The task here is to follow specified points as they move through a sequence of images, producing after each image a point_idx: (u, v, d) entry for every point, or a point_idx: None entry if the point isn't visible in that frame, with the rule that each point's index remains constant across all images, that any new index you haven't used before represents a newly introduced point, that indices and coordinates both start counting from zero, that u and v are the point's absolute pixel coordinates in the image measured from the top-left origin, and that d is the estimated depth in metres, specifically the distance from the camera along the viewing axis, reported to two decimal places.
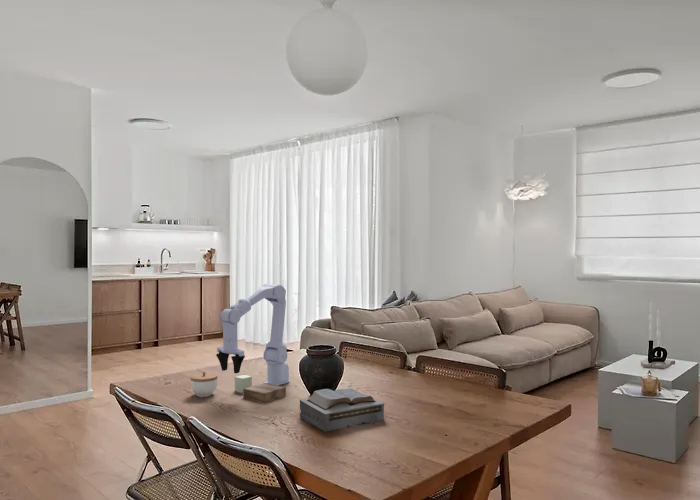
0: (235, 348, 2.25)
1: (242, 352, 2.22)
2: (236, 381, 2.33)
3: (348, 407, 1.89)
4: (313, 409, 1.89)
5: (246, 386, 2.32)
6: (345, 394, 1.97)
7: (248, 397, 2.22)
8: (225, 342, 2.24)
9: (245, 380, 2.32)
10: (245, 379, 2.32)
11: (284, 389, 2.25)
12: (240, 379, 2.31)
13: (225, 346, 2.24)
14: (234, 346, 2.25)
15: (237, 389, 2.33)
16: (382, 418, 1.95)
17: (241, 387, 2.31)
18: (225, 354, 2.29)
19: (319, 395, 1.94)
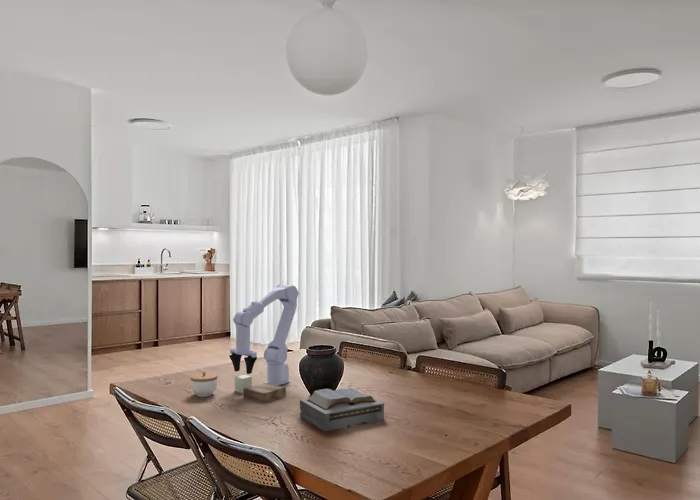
0: (248, 349, 2.32)
1: (254, 353, 2.30)
2: (236, 381, 2.33)
3: (349, 407, 1.89)
4: (313, 409, 1.89)
5: (246, 386, 2.32)
6: (345, 394, 1.97)
7: (248, 397, 2.22)
8: (238, 344, 2.31)
9: (245, 380, 2.32)
10: (245, 379, 2.32)
11: (284, 389, 2.25)
12: (240, 379, 2.31)
13: (238, 348, 2.31)
14: (247, 347, 2.32)
15: (237, 389, 2.33)
16: (382, 418, 1.95)
17: (241, 387, 2.31)
18: (238, 355, 2.37)
19: (319, 395, 1.94)
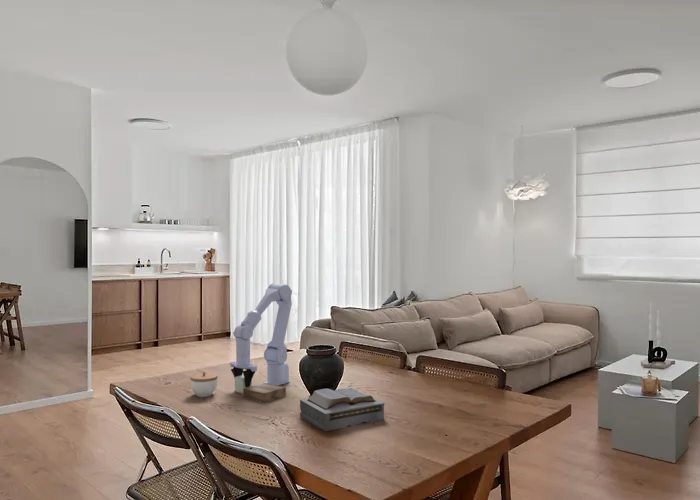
0: (248, 363, 2.33)
1: (255, 367, 2.30)
2: (236, 381, 2.33)
3: (349, 406, 1.89)
4: (314, 409, 1.89)
5: None
6: (345, 394, 1.97)
7: (248, 397, 2.22)
8: (238, 357, 2.32)
9: None
10: None
11: (284, 389, 2.25)
12: (240, 379, 2.31)
13: (238, 362, 2.31)
14: (247, 361, 2.32)
15: (237, 389, 2.33)
16: (382, 418, 1.95)
17: (241, 387, 2.31)
18: (239, 369, 2.36)
19: (319, 395, 1.95)
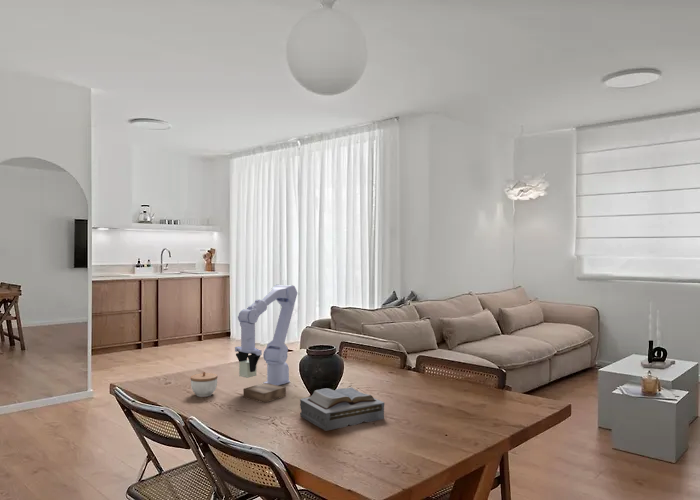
0: (253, 347, 2.30)
1: (260, 351, 2.27)
2: (241, 366, 2.31)
3: (349, 406, 1.90)
4: (314, 408, 1.90)
5: None
6: (345, 393, 1.97)
7: (248, 397, 2.22)
8: (243, 341, 2.29)
9: None
10: None
11: (284, 389, 2.25)
12: (245, 364, 2.29)
13: (243, 346, 2.29)
14: (252, 345, 2.30)
15: (242, 374, 2.30)
16: (382, 417, 1.96)
17: (246, 371, 2.29)
18: (244, 354, 2.34)
19: (319, 394, 1.95)
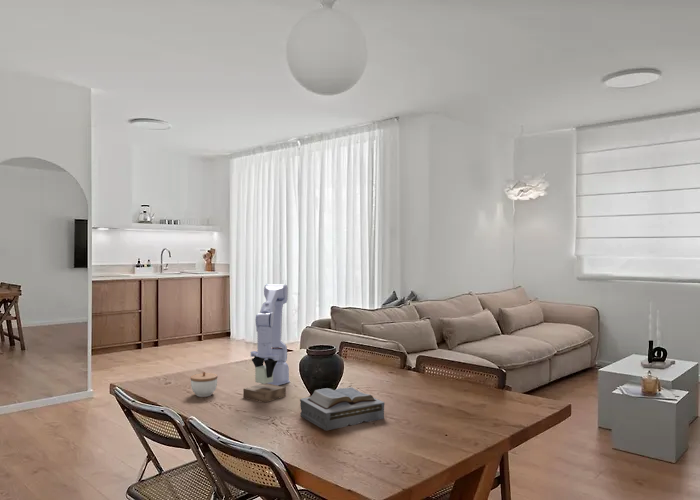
0: (269, 352, 2.23)
1: (277, 356, 2.20)
2: (257, 371, 2.23)
3: (349, 406, 1.90)
4: (314, 408, 1.90)
5: None
6: (345, 393, 1.98)
7: (248, 397, 2.22)
8: (260, 346, 2.22)
9: None
10: None
11: (284, 389, 2.25)
12: (262, 369, 2.22)
13: (260, 351, 2.22)
14: (268, 350, 2.23)
15: (258, 380, 2.23)
16: (382, 417, 1.96)
17: (262, 377, 2.21)
18: (260, 359, 2.27)
19: (319, 394, 1.95)
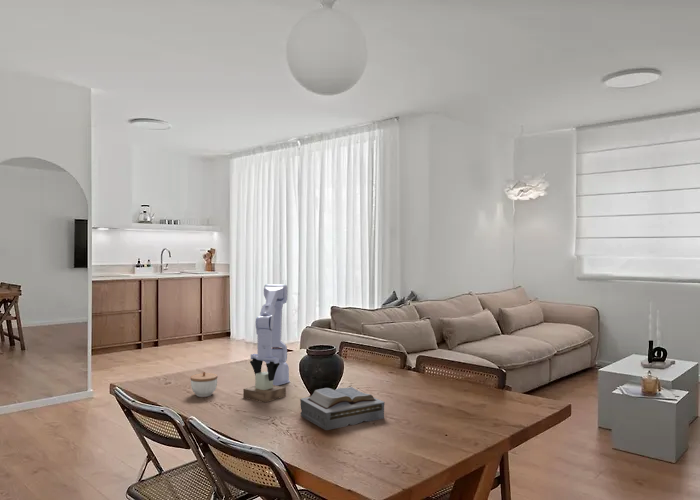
0: (269, 355, 2.23)
1: (277, 359, 2.20)
2: (257, 378, 2.23)
3: (349, 406, 1.90)
4: (314, 408, 1.90)
5: (267, 383, 2.23)
6: (345, 393, 1.98)
7: (248, 397, 2.22)
8: (260, 349, 2.22)
9: (266, 377, 2.22)
10: (266, 376, 2.22)
11: (284, 389, 2.25)
12: (262, 376, 2.22)
13: (260, 354, 2.22)
14: (269, 353, 2.23)
15: (258, 386, 2.23)
16: (382, 417, 1.96)
17: (262, 384, 2.21)
18: (259, 361, 2.27)
19: (319, 394, 1.96)
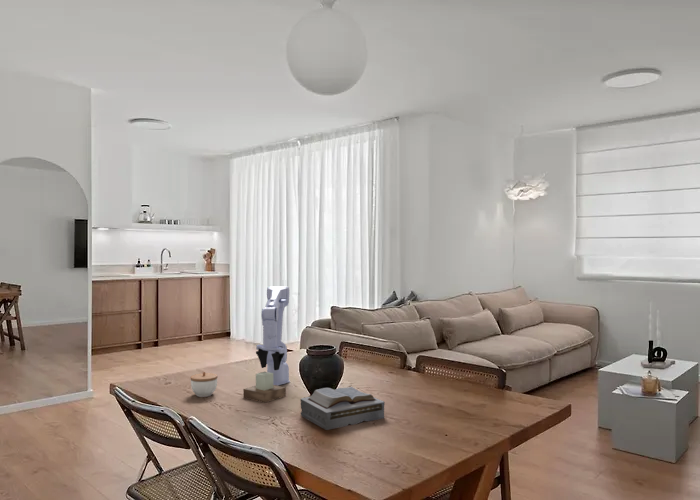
0: (275, 345, 2.30)
1: (282, 349, 2.27)
2: (257, 378, 2.23)
3: (349, 405, 1.90)
4: (314, 408, 1.91)
5: (268, 383, 2.23)
6: (346, 393, 1.98)
7: (248, 397, 2.22)
8: (265, 340, 2.29)
9: (267, 377, 2.22)
10: (267, 376, 2.22)
11: (284, 389, 2.25)
12: (262, 376, 2.22)
13: (265, 344, 2.29)
14: (274, 343, 2.29)
15: (258, 386, 2.23)
16: (382, 416, 1.96)
17: (263, 384, 2.21)
18: (264, 351, 2.34)
19: (320, 394, 1.96)
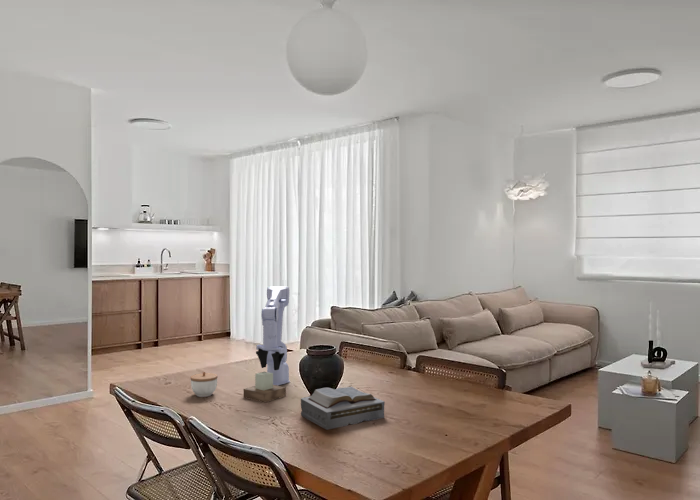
0: (275, 345, 2.30)
1: (282, 349, 2.27)
2: (257, 378, 2.23)
3: (349, 405, 1.91)
4: (315, 407, 1.91)
5: (267, 383, 2.22)
6: (346, 392, 1.99)
7: (248, 397, 2.22)
8: (265, 339, 2.29)
9: (266, 377, 2.22)
10: (266, 376, 2.22)
11: (284, 389, 2.25)
12: (262, 376, 2.21)
13: (265, 344, 2.29)
14: (274, 343, 2.29)
15: (258, 386, 2.23)
16: (382, 416, 1.97)
17: (262, 384, 2.21)
18: (264, 351, 2.34)
19: (320, 394, 1.96)
